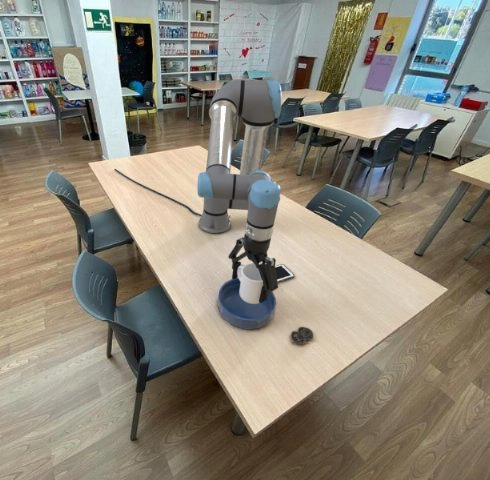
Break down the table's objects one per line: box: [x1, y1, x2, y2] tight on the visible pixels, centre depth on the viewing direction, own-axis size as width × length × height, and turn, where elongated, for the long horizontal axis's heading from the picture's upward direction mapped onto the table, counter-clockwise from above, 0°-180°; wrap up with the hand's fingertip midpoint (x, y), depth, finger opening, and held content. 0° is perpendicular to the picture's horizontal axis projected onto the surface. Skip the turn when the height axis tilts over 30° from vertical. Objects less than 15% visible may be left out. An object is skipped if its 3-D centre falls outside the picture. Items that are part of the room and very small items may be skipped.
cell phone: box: [275, 263, 295, 283], centre depth 110 cm, size 8×15×1 cm, turn 112°
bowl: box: [217, 278, 277, 330], centre depth 97 cm, size 19×19×5 cm
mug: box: [237, 262, 264, 304], centre depth 90 cm, size 12×8×10 cm
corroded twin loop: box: [290, 326, 314, 345], centre depth 88 cm, size 5×8×1 cm, turn 118°
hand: (248, 288), depth 93 cm, fingers closed on mug, 12 cm apart
